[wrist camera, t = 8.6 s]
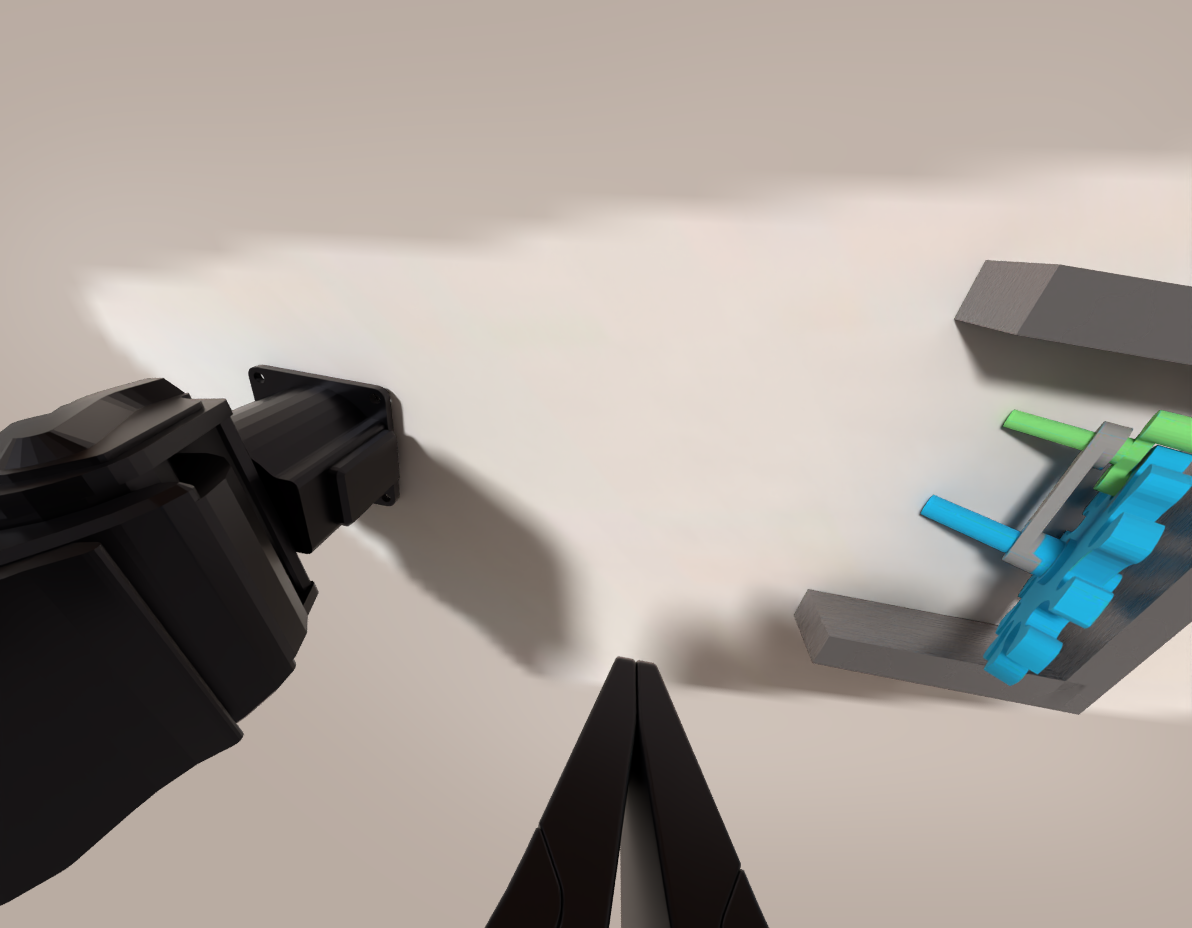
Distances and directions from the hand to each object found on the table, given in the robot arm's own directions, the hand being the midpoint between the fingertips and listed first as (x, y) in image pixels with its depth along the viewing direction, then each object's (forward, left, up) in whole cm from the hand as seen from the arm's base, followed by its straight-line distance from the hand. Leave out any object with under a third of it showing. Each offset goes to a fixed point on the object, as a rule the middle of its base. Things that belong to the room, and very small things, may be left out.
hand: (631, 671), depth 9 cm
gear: (+17, 0, -12) cm, 21 cm away
